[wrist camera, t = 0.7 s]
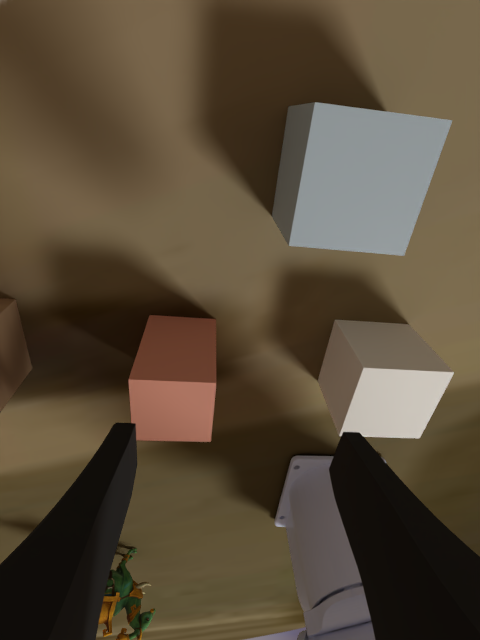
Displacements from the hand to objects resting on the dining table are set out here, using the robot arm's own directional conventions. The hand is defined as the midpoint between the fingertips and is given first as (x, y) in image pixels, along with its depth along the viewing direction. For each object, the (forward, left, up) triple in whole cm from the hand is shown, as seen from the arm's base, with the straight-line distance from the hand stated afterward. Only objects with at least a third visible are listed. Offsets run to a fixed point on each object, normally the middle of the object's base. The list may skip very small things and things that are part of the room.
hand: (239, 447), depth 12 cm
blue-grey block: (+8, -4, -10) cm, 14 cm away
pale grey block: (-3, -9, -10) cm, 14 cm away
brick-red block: (-3, +3, -10) cm, 11 cm away
